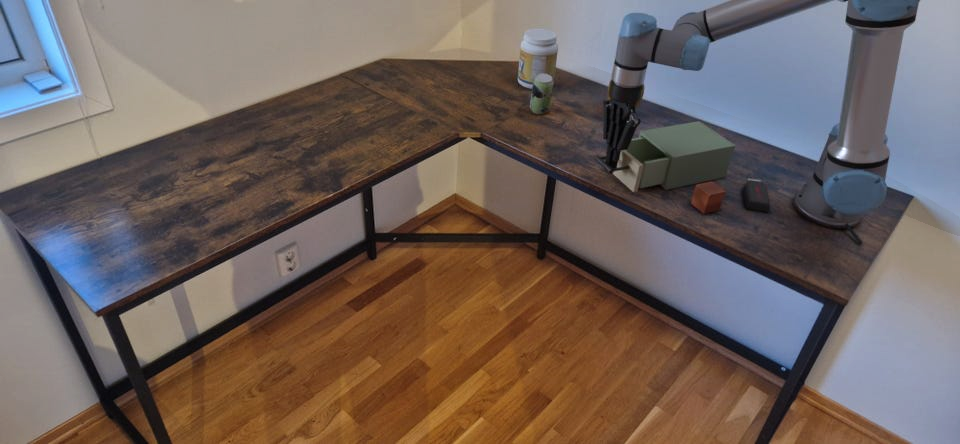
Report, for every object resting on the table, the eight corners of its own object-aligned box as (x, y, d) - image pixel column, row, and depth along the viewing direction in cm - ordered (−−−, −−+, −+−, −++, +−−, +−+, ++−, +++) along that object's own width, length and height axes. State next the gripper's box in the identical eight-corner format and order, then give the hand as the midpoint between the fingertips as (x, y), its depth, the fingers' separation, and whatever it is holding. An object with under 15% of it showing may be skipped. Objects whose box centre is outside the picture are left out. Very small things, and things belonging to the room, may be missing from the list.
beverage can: (544, 106, 204) (548, 69, 197) (553, 116, 198) (558, 79, 191) (525, 107, 202) (529, 71, 195) (534, 118, 197) (538, 81, 190)
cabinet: (665, 190, 167) (673, 157, 161) (633, 162, 178) (639, 131, 172) (725, 177, 174) (735, 145, 168) (690, 151, 184) (699, 120, 179)
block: (719, 210, 160) (725, 191, 157) (703, 214, 159) (709, 195, 156) (706, 199, 164) (712, 181, 161) (690, 203, 162) (696, 184, 159)
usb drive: (746, 208, 162) (749, 199, 160) (741, 184, 171) (744, 175, 170) (768, 212, 161) (771, 203, 159) (762, 187, 170) (765, 178, 169)
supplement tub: (514, 75, 222) (518, 27, 213) (549, 76, 224) (555, 27, 214) (520, 90, 213) (524, 40, 203) (556, 90, 214) (563, 40, 204)
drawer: (612, 196, 161) (618, 169, 157) (585, 170, 171) (589, 144, 167) (692, 180, 170) (699, 153, 165) (661, 155, 180) (667, 130, 175)
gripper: (657, 91, 148) (637, 179, 162) (625, 69, 158) (608, 154, 171) (629, 95, 146) (611, 184, 159) (598, 73, 155) (584, 159, 169)
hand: (610, 169), depth 165 cm, fingers closed
